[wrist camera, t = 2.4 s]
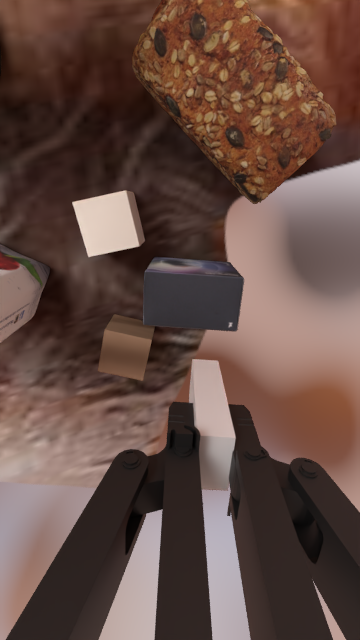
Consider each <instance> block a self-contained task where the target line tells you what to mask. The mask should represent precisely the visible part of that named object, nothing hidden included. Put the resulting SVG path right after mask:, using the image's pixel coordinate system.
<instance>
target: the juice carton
mask: <svg viewBox="0 0 360 640" xmlns="http://www.w3.org/2000/svg"><path fill="white" fill-rule="evenodd" d="M49 273H50V267H49V266H47V265H45V264H43V263H40V262H38V261H36V260H34V259H31V258H29V257H26V256H24V255H21V254H19V253H17V252H15V251H13V250H11V249H10V248H8V247H6V246H4V245H2V244H0V343H1V342H2V341H3V340H4V339H6V338H7V337H8V336H10V335H11V334H12V333H14V332H15V331H16V330H18V329H19V328H20V327H22V326H23V325H24V324H26V323H27V322H28V321H29V320H30V319H32V317H33V316H34V314H35V312H36V309H37V307H38V303H39V300H40V297H41V294H42V291H43V289H44V286H45V284H46V281H47V279H48V276H49Z"/></svg>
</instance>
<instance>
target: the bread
mask: <svg viewBox="0 0 360 640" xmlns="http://www.w3.org/2000/svg"><path fill="white" fill-rule="evenodd" d="M132 67H133V70H134V72H135V76H136V77H137V78H138V80H139V81H140V82H141V84H142V85H143V86H144V87H145V89H146V90H147V91H148V92H149V93H150V95H151V96H152V97H153V98H154V99H155V100H156V101H157V102H158V104H159V105H160V106H161V107H162V108H163V109H164V110H165V111H166V112H167V113H168V114H169V115H170V116H171V117H172V118H173V119H174V121H175V122H176V123H177V124H178V125H179V127H180V128H181V129H182V130H183V131H184V132H185V133H186V134H187V136H188V137H189V138H190V139H191V140H192V141H193V142H194V143H195V144H196V145H197V146H198V147H199V148H200V149H201V150H202V152H203V153H204V154H205V155H206V156H207V158H208V159H209V160H210V161H211V162H212V163H213V164H214V165H215V166H216V167H217V168H218V169H219V170H220V171H221V172H222V173H223V175H224V176H225V177H226V178H227V179H228V180H229V181H230V182H231V183H232V184H233V185H234V186H235V187H237V189H238V190H239V192H240V193H241V194H242V195H244V196H245V197H246V198H247V199H248V200H250V202H252V203H253V204H257V203H258V202H261V201H262V200H264V199H265V198H266V197H268V195H269V194H270V193H272V192H273V191H274V190H276V188H277V187H279V186H280V185H281V184H282V183H283V182H284V181H285V180H286V179H287V178H288V177H290V176H291V175H292V174H293V173H294V172H295V171H297V170H298V169H299V168H300V167H301V166H302V165H303V164H304V163H305V162H306V161H307V160H308V159H309V158H310V157H311V156H313V155H314V154H315V153H316V152H317V151H318V150H319V149H320V148H321V146H322V145H323V143H324V142H325V141H326V139H329V138H330V136H331V131H332V129H333V127H334V126H335V125H336V115H335V113H334V111H333V109H332V108H331V107H330V105H329V104H327V103H326V102H325V101H324V100H323V97H322V96H323V94H322V93H321V92H320V91H319V90H318V89H317V88H316V87H315V86H314V85H313V83H312V81H311V79H310V78H309V76H308V75H307V73H306V72H305V70H304V69H302V68H300V63H299V62H298V61H297V60H296V59H295V58H294V57H293V56H290V55H289V52H288V50H287V48H286V47H284V46H283V44H282V40H281V39H280V37H279V36H278V35H276V34H273V32H272V30H271V29H269V28H268V27H267V26H266V25H264V23H263V22H262V21H261V19H260V18H259V17H258V16H257V15H256V14H255V13H254V12H253V11H252V10H251V9H250V5H249V2H248V0H162V1H161V3H160V5H159V6H158V7H157V9H156V11H155V13H154V15H153V17H152V21H151V22H150V24H149V26H148V27H147V30H146V31H145V32H144V33H143V34H141V35H140V38H139V41H138V44H137V46H136V47H135V49H134V52H133V55H132Z"/></svg>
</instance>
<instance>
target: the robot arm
mask: <svg viewBox="0 0 360 640" xmlns="http://www.w3.org/2000/svg"><path fill="white" fill-rule="evenodd" d="M0 74H1V49H0ZM229 483H230V489H231V493H230V499H229V506H228V515H227V516H230V513H231V515H232V521H233V528H234V534H235V540H236V547H237V553H238V560H239V566H240V572H241V579H242V585H243V592H244V598H245V605H246V611H247V618H248V623H249V631H250V637H251V640H333V638H332V635H331V632H330V629H329V627H328V624H327V621H326V618H325V615H324V612H323V609H322V606H321V603H320V600H319V598H318V595H317V592H316V589H315V586H314V583H315V585H316V586H317V588H318V590H319V592H320V594H321V595H322V597H323V599H324V601H325V603H326V604H327V606H328V608H329V609H330V612H331V613H332V615H333V617H334V619H335V620H336V622H337V624H338V626H339V628H340V629H341V631H342V633H343V635H344V637H345V638H346V640H360V512H359V511H358V510H357V509H356V508H355V506H354V505H353V504H352V503H351V502H350V500H349V499H348V498H347V497H346V495H345V494H344V493H343V492H342V491H341V490H340V488H339V487H338V486H337V485H336V483H335V482H334V481H333V480H332V479H331V477H330V476H329V475H328V474H327V473H326V471H325V470H324V469H323V468H322V467H321V466H320V465H319V464H318V463H316V462H314V461H312V460H310V459H306V458H296V459H294V460H293V461H292V462H291V464H290V465H289V464H286V463H282V462H279V461H276V460H274V459H272V458H271V457H270V456H269V454H268V452H267V451H266V450H265V449H264V448H263V447H261V445H260V442H259V439H258V435H257V432H256V429H255V427H254V423H253V421H252V417H251V414H250V412H249V410H248V409H247V408H246V407H245V406H244V405H231V404H228V402H227V398H226V393H225V390H224V385H223V380H222V376H221V372H220V367H219V363H218V361H215V360H198V359H192V369H191V381H190V392H189V403H184V402H173V403H172V405H171V406H170V407H169V417H168V433H167V444H166V447H165V448H164V449H163V450H162V451H161V452H160V453H158V454H155V455H152V456H147V455H145V454H144V453H143V452H142V451H139V450H134V449H130V450H125V451H123V452H121V453H119V454H118V455H117V456H116V457H115V459H114V461H113V462H112V464H111V466H110V467H109V469H108V471H107V472H106V474H105V476H104V477H103V479H102V481H101V482H100V484H99V486H98V487H97V489H96V491H95V492H94V494H93V496H92V497H91V499H90V501H89V502H88V504H87V505H86V507H85V509H84V511H83V512H82V514H81V516H80V517H79V519H78V521H77V522H76V524H75V525H74V527H73V529H72V531H71V533H70V534H69V535H68V537H67V539H66V541H65V542H64V544H63V545H62V547H61V549H60V551H59V552H58V554H57V555H56V557H55V559H54V561H53V562H52V564H51V565H50V567H49V569H48V570H47V572H46V574H45V576H44V577H43V579H42V580H41V582H40V584H39V585H38V587H37V589H36V591H35V592H34V594H33V595H32V597H31V599H30V600H29V602H28V604H27V605H26V607H25V609H24V611H23V612H22V614H21V615H20V617H19V619H18V620H17V622H16V624H15V625H14V627H13V629H12V630H11V632H10V634H9V635H8V637H7V639H6V640H98V639H99V637H100V634H101V632H102V629H103V626H104V624H105V621H106V619H107V616H108V613H109V611H110V608H111V606H112V603H113V600H114V598H115V595H116V593H117V590H118V587H119V585H120V582H121V580H122V577H123V574H124V572H125V569H126V567H127V564H128V561H129V559H130V556H131V554H132V551H133V548H134V545H135V543H136V541H137V538H138V536H139V533H140V530H141V528H142V525H143V522H144V520H145V517H146V513H150V512H154V511H157V510H161V509H163V512H162V528H161V544H160V545H161V546H160V560H159V577H158V593H157V609H156V626H155V640H212V627H211V613H210V599H209V586H208V573H207V558H206V544H205V530H204V517H203V502H202V489H208V490H228V486H229ZM312 579H313V580H312ZM313 581H314V583H313Z"/></svg>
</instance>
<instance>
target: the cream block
mask: <svg viewBox="0 0 360 640" xmlns="http://www.w3.org/2000/svg"><path fill="white" fill-rule="evenodd" d="M72 203H73V206H74V210H75V213H76V217H77V220H78V223H79V227H80V230H81V233H82V237H83V240H84V243H85V247H86V250H87V254H88V257H91V256H96V255H100V254H105V253H110V252H115V251H120V250H125V249H129V248H134V247H139V246H140V245H141V244H142V243H143V242H144V241H145V238H144V234H143V230H142V225H141V221H140V217H139V213H138V208H137V204H136V200H135V195H134V192H130V191H127V190H125V191H120V192H116V193H111V194H107V195H102V196H98V197H93V198H89V199H84V200H80V201H75V202H72Z"/></svg>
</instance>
